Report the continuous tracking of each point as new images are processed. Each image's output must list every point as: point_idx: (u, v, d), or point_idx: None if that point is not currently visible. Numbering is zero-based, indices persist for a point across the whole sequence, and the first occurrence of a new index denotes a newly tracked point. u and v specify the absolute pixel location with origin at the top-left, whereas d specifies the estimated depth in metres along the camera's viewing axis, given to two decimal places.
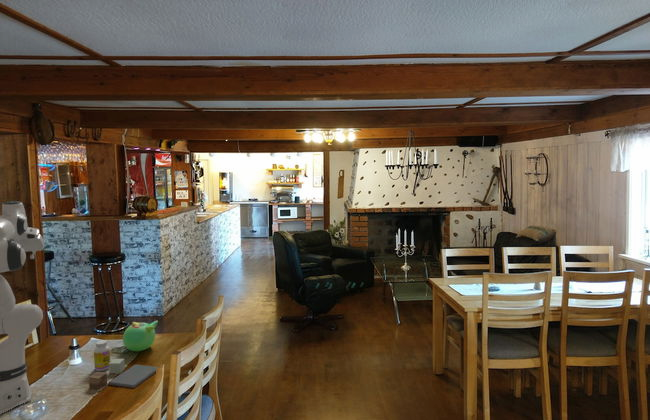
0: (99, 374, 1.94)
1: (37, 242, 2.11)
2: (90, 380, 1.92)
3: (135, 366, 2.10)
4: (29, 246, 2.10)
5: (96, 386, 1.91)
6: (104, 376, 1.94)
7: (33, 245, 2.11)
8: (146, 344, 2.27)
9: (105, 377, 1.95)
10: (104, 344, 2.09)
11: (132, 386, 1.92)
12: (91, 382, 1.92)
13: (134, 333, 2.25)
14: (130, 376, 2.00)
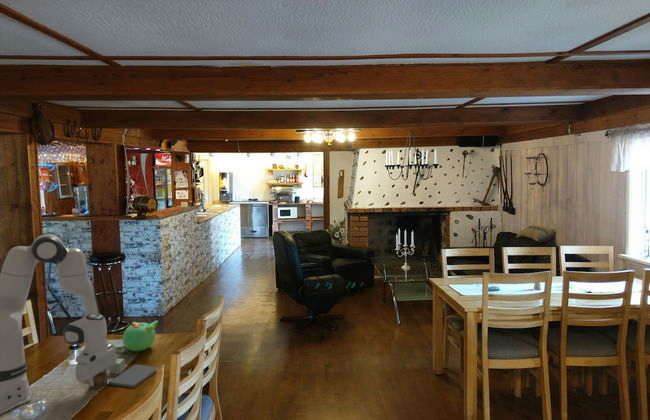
0: (99, 374, 1.94)
1: None
2: None
3: (135, 366, 2.10)
4: None
5: (96, 386, 1.91)
6: (104, 376, 1.94)
7: None
8: (146, 344, 2.27)
9: (105, 377, 1.95)
10: None
11: (132, 386, 1.92)
12: None
13: (134, 333, 2.25)
14: (130, 376, 2.00)
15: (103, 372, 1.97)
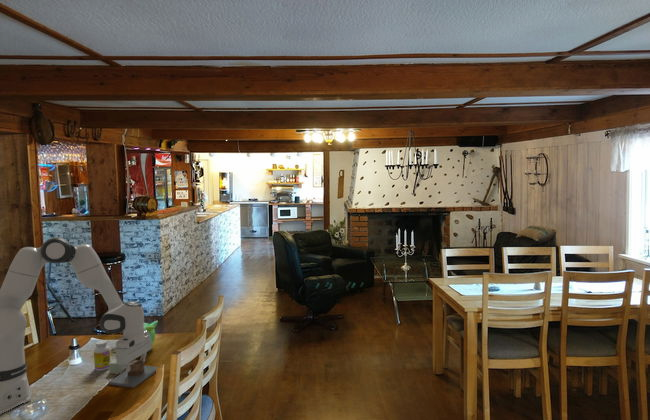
0: (136, 362, 2.03)
1: None
2: None
3: None
4: None
5: (134, 373, 2.00)
6: (141, 364, 2.03)
7: None
8: None
9: (142, 365, 2.03)
10: (104, 344, 2.09)
11: (132, 386, 1.92)
12: None
13: None
14: (130, 376, 2.00)
15: (142, 356, 2.07)
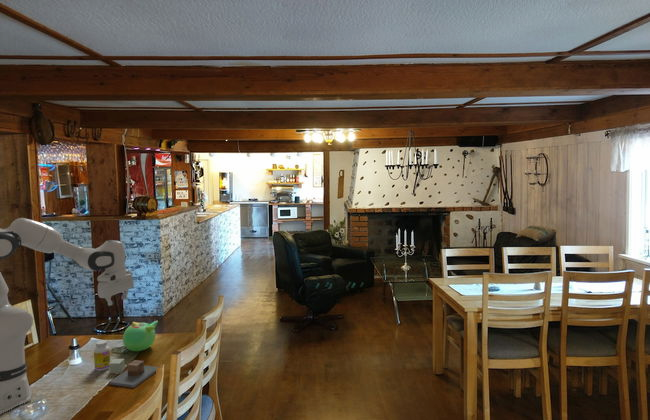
0: (136, 362, 2.03)
1: None
2: (128, 368, 2.01)
3: None
4: None
5: (134, 373, 2.00)
6: (141, 364, 2.03)
7: None
8: (146, 344, 2.27)
9: (142, 365, 2.03)
10: (104, 344, 2.09)
11: (132, 386, 1.92)
12: (129, 370, 2.00)
13: (134, 333, 2.25)
14: (130, 376, 2.00)
15: (123, 294, 2.17)
